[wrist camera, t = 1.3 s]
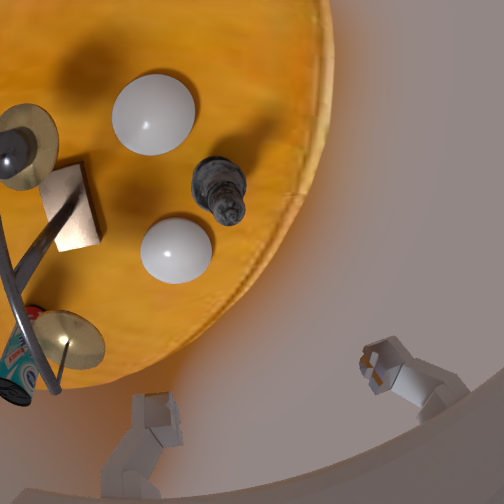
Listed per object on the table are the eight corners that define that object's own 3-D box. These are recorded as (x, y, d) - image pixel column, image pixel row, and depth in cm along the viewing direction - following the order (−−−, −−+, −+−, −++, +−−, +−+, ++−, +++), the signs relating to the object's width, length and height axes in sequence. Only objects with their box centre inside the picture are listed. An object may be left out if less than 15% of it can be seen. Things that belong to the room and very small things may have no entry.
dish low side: (109, 84, 26) (107, 83, 25) (191, 69, 27) (191, 68, 26) (120, 160, 30) (118, 162, 29) (198, 146, 32) (199, 148, 31)
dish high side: (134, 224, 34) (133, 227, 33) (206, 211, 36) (207, 214, 35) (150, 284, 39) (149, 288, 38) (215, 273, 40) (216, 277, 40)
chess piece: (245, 159, 34) (277, 191, 24) (233, 205, 36) (257, 255, 26) (195, 149, 32) (204, 177, 22) (185, 197, 34) (190, 246, 24)
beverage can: (58, 331, 39) (38, 409, 27) (30, 331, 38) (5, 404, 25) (46, 302, 36) (17, 381, 24) (17, 303, 35) (-16, 376, 22)
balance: (22, 111, 23) (-98, 151, 7) (80, 90, 25) (-28, 100, 8) (76, 297, 37) (44, 418, 20) (126, 289, 38) (112, 418, 22)
